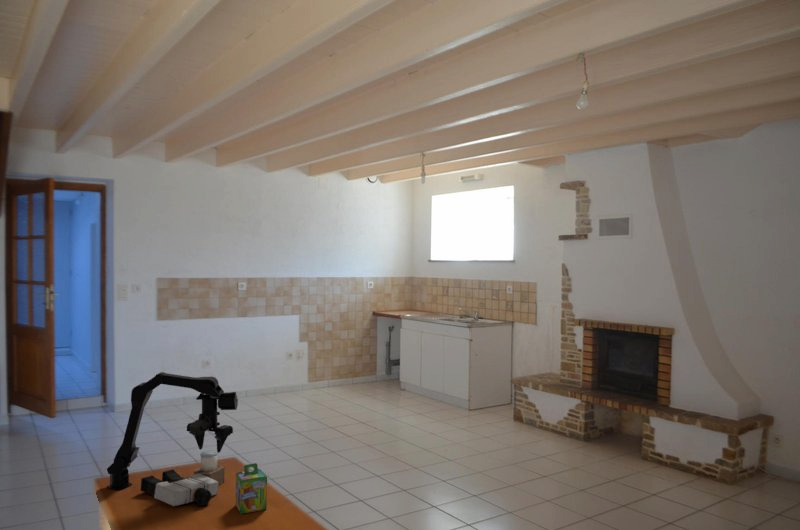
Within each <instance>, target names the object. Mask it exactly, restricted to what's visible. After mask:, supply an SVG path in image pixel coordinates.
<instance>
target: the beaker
mask: <svg viewBox="0 0 800 530" xmlns="http://www.w3.org/2000/svg"><path fill="white" fill-rule="evenodd" d="M218 454H219V453H218V452H217V450H206V451H202V452H200V468H201V471H205V472H208V471H214V470H216V469H217V466H218Z"/></svg>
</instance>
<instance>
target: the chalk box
mask: <svg viewBox="0 0 800 530" xmlns="http://www.w3.org/2000/svg"><path fill="white" fill-rule="evenodd" d="M249 468H253V469H252V470H250V469H249ZM267 496H268V476H267V475H266V474H265V472H264V471H263V470H262V469H259V467H258V463H257V462H255V463H249V464H245V465H244V467H243V471H238V472H235V506H236V508H237V510H238V512H239V513H240V514H241V515H243V514H248V513H253V512H259V511H260V512H261V511H265V510H267V506H268V505H267V502H268V501H267V499H268V498H267Z"/></svg>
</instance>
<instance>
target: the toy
mask: <svg viewBox="0 0 800 530" xmlns="http://www.w3.org/2000/svg"><path fill="white" fill-rule="evenodd" d="M218 490H219V485H218V481H216V480H213V479H211V478H209V477H207V476H205V475H203V474H201V473H198V474H194V473H193V474H191V475H190V477H189V476H188V477H183V476H181V475H180V474H178V472H177V471H175V469H169V470H164V471H162V476H161V479H159V478H156V477H155V476H154V475H149V476H145V477H142V478H141V481H140V491H141V492H145V493H147V494H149V495H150V496H154V497H153V498H154V499H155V500H159V501H161V502H163V503H165V504H168V505H170V506H172V507H177V506H180V505H184V504H190V503H192V502H195V503H196V504H198V506H200V507H206V506H207V505H208V504H209V502H210V501H211V499H212V497H213V496H215V495H218Z"/></svg>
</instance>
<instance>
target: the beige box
mask: <svg viewBox="0 0 800 530" xmlns="http://www.w3.org/2000/svg"><path fill="white" fill-rule="evenodd" d="M225 468H226V467H225V466H223V465H217V469H216V470H214V471H208V472H205V471H201V467H199V468H197V469H195V470H193V474H198V473H201V474H203V475H205V476H207V477H209V478H211V479H213V480H216V481H218V486H220V485H221V483H222V484H223V483H225V482H224V481H225V480H226V479H225V471H226V470H225ZM219 484H220V485H219Z"/></svg>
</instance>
